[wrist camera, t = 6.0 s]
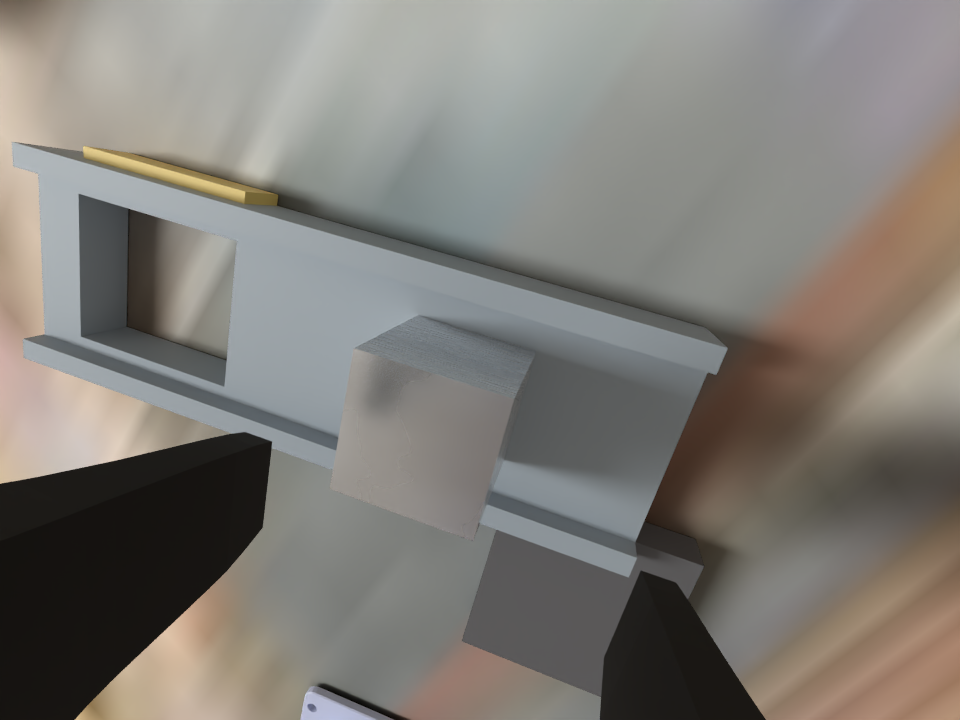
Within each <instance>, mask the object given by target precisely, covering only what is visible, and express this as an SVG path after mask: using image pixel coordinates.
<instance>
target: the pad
mask: <svg viewBox="0 0 960 720" xmlns="http://www.w3.org/2000/svg"><path fill="white" fill-rule="evenodd" d="M635 545H636V553H637V559H636V562H635V564H634V566H633V569H632V571H631V573H630V576H629V578H628V577H626V576H623V575H620V574H617V573H615V572H612V571H609V570H606V569H604V568H601V567H598V566H595V565H593V564H590V563H587V562H584V561H582V560H579V559H576V558H573V557H571V556H568V555H565V554H562V553H560V552H557V551H554V550H551V549H549V548H546V547H543V546H540V545H538V544H535V543H532V542H529V541H527V540H524V539H521V538H518V537H516V536H513V535H510V534H507V533H505V532H502V531H499V530H496V533H495V536H494V539H493V543H492V546H491V549H490V552H489V555H488V559H487V562H486V565H485V568H484V571H483V575H482V578H481V581H480V584H479V588H478V591H477V594H476V597H475V600H474V604H473V607H472V610H471V613H470V616H469V620H468V623H467V626H466V629H465V632H464V636H463V639H462V641H463V642H465V643H468V644H470V645H473V646H475V647H478V648H480V649H483V650H485V651H488V652H490V653H493V654H495V655H497V656H500V657H502V658H505V659H507V660H510V661H512V662H515V663H517V664H520V665H522V666H525V667H527V668H530V669H532V670H535V671H537V672H540V673H542V674H545V675H547V676H550V677H552V678H555V679H557V680H560V681H562V682H565V683H567V684H570V685H572V686H575V687H577V688H580V689H582V690H585V691H587V692H590V693H592V694H595V695H597V696H600V697H601V691H602V678H603V664H604V656H605V654H606V651H607V649H608V647H609V644H610V642H611V639H612V637H613V635H614V632H615V630H616V628H617V625H618V623H619V621H620V618H621V616H622V614H623V611H624V609H625V606H626V604H627V602H628V599H629V597H630V595H631V592H632V590H633V588H634V585H635V583H636V581H637V578H638V576H639V573H640V571H641V570H642V571H644V572H647V573H650V574H653V575H656V576H659V577H662V578H664V579H667V580H670V581H673V582H676V583H677V584H678V586H679V587H680V589H681V590H682V592H683V593H684V595H685V596H686V598H687V599H688V598H689V596H690V594H691V592H692V590H693V588H694V586H695V584H696V582H697V580H698V578H699V576H700V574H701V572H702V570H703V568H704V564H703V561H702V558H701V555H700V552H699V549H698V545H697V542H696V539H693V538H690V537H687V536H684V535H681V534H679V533H676V532H673V531H670V530H667V529H664V528H661V527H658V526H655V525H653V524H650V523H647V522H644V523H643V525H642V528H641V530H640V532H639V535H638V537H637V539H636V542H635Z"/></svg>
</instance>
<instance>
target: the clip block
mask: <svg viewBox="0 0 960 720" xmlns="http://www.w3.org/2000/svg"><path fill="white" fill-rule="evenodd" d="M535 354H536V351H535V350H532V349H529V348H525V347H522V346H519V345H515V344H512V343H509V342H506V341H502V340H499V339H496V338H492V337H489V336H486V335H482V334H479V333H476V332H472V331H469V330H466V329H462V328H459V327H456V326H452V325H449V324H446V323H442V322H439V321H436V320H432V319H429V318H426V317H423V316H419V315H417V316H415V317H413V318H411V319H409V320H408V321H406V322H404V323H402V324H400V325H398V326H396V327H394V328H392V329H390V330H388V331H386V332H384V333H382V334H380V335H378V336H376V337H374V338H373V339H371V340H369V341H367V342H365V343H363V344H361V345H359V346H357V347H355V348H354V349H353V355H352V360H351V366H350V372H349V378H348V384H347V390H346V396H345V402H344V408H343V414H342V420H341V425H340V431H339V437H338V443H337V449H336V455H335V461H334V467H333V473H332V479H331V485H330V489H331V490H334V491H337V492H340V493H342V494H345V495H348V496H351V497H353V498H356V499H359V500H362V501H364V502H367V503H370V504H373V505H375V506H378V507H381V508H383V509H386V510H389V511H392V512H394V513H397V514H400V515H403V516H405V517H408V518H411V519H414V520H416V521H419V522H422V523H424V524H427V525H430V526H433V527H435V528H438V529H441V530H444V531H446V532H449V533H452V534H455V535H457V536H460V537H463V538H466V539H468V540H471V541H473V540H474V537H475V534H476V532H477V529H478V527H479V524H480V521H481V519H482V516H483V514H484V511H485V508H486V506H487V503H488V501H489V498H490V495H491V493H492V490H493V488H494V485H495V482H496V480H497V477H498V475H499V472H500V469H501V467H502V464H503V462H504V459H505V455H506V452H507V448H508V445H509V442H510V438H511V435H512V432H513V428H514V425H515V421H516V418H517V415H518V411H519V408H520V405H521V401H522V398H523V394H524V391H525V388H526V384H527V381H528V378H529V374H530V371H531V367H532V364H533V361H534V357H535Z"/></svg>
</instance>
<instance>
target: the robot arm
mask: <svg viewBox="0 0 960 720" xmlns="http://www.w3.org/2000/svg"><path fill="white" fill-rule="evenodd" d="M271 448H272V441H270V440H267V439H264V438H261V437H258V436H255V435H252V434H250V433H247V432H241V433H234V434H229V435H223V436H219V437H214V438H210V439H205V440H201V441H197V442H192V443H188V444H184V445H180V446H176V447H172V448H167V449H163V450H159V451H155V452H151V453H146V454H142V455H138V456H134V457H130V458H125V459H121V460H117V461H112V462H108V463H103V464H98V465H93V466H89V467H84V468H79V469H74V470H69V471H65V472H60V473H55V474H50V475H46V476H41V477H36V478H30V479H25V480H20V481H14V482H8V483H2V484H0V720H75V719H76V717H77V716H78V715H79V714H80V713H81V712H82V711H83V710H84V709H85V707H86V706H87V705H88V704H89V703H90V702H91V701H92V700H93V699H94V698H95V697H96V696H97V695H98V694H99V693H100V692H101V691H102V690H103V689H104V688H105V687H106V686H107V685H108V684H109V683H110V682H111V681H112V680H113V679H114V678H115V677H116V676H117V675H118V674H119V673H120V672H121V671H122V670H123V669H124V668H125V667H127V666H128V665H129V664H130V663H131V662H132V661H133V660H134V659H135V658H136V657H137V656H138V655H139V654H140V653H141V652H142V651H143V650H145V649H146V648H147V647H148V646H149V645H150V644H151V643H152V642H153V641H154V640H155V639H156V638H157V637H158V636H159V635H160V634H161V633H163V632H164V631H165V630H166V629H167V628H168V627H169V626H170V625H171V624H172V623H173V622H174V621H175V620H176V619H177V618H178V617H180V616H181V615H182V614H183V613H184V612H185V611H186V610H187V609H188V608H189V607H190V606H191V605H192V604H193V603H194V602H195V601H196V600H197V599H198V598H200V597H201V596H202V595H203V594H204V593H205V592H206V591H207V590H208V589H209V588H210V587H211V586H212V585H213V584H214V583H215V582H216V581H217V580H218V579H219V578H220V577H221V576H222V575H223V574H224V573H225V572H226V571H227V570H228V569H229V568H230V567H231V565H232V564H233V563H234V562H235V561H236V560H237V558H238V557H239V556H240V555H241V554H242V553H243V551H244V550H245V549H246V548H247V546H248V545H249V544H250V543H251V541H252V540H253V539H254V538H255V536H256V535H257V534H258V533H259V531H260V530H261V529H262V528H263V519H264V510H265V501H266V492H267V484H268V475H269V466H270V457H271ZM301 720H394V719H392V718H389V717H387V716H385V715H382V714H380V713H378V712H375V711H373V710H371V709H369V708H366V707H364V706H362V705H359V704H357V703H355V702H352V701H350V700H348V699H346V698H343V697H341V696H339V695H336V694H334V693H332V692H329V691H327V690H325V689H322V688H320V687H317V686H312V687H310V688H309V690H308V691H307V693H306V695H305V698H304V704H303V709H302V715H301ZM600 720H766V719H765V718H764V716H763V715H762V714H761V712H760V711H759V709H758V708H757V706H756V705H755V703H754V702H753V700H752V699H751V697H750V696H749V694H748V693H747V691H746V690H745V688H744V687H743V685H742V684H741V682H740V681H739V679H738V678H737V676H736V675H735V673H734V672H733V670H732V668H731V667H730V665H729V664H728V662H727V661H726V659H725V658H724V656H723V655H722V653H721V651H720V650H719V648H718V647H717V645H716V644H715V642H714V640H713V639H712V637H711V636H710V634H709V633H708V631H707V629H706V628H705V626H704V625H703V623H702V621H701V620H700V618H699V617H698V615H697V613H696V612H695V610H694V609H693V607H692V606H691V604H690V602H689V601H688V599H687V598H686V596H685V595H684V593H683V592H682V590H681V589H680V587H679V586H678V584H677V583H676V582H673V581H670V580H667V579H664V578H662V577H659V576H656V575H653V574H650V573H647V572H644V571H642V570H641V571H640V573H639V576H638V578H637V581H636V583H635V585H634V588H633V590H632V592H631V595H630V597H629V599H628V602H627V604H626V606H625V609H624V611H623V614H622V616H621V618H620V621H619V623H618V625H617V628H616V630H615V632H614V635H613V637H612V639H611V642H610V644H609V647H608V649H607V651H606V654H605V656H604V664H603V678H602V691H601V710H600Z"/></svg>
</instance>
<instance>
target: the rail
mask: <svg viewBox="0 0 960 720" xmlns="http://www.w3.org/2000/svg"><path fill="white" fill-rule="evenodd" d="M12 153H13V166H14V167H17V168H21V169H24V170H27V171H31V172H34V173H37V174H38V179H39V204H40V228H41V253H42V278H43V302H44V327H45V335H40V336H35V337H30V338H25V339H23V350H24V358H26V359H28V360H31V361H34V362H37V363H39V364H42V365H45V366H48V367H50V368H53V369H56V370H59V371H61V372H64V373H67V374H70V375H72V376H75V377H78V378H81V379H83V380H86V381H89V382H92V383H94V384H97V385H100V386H103V387H105V388H108V389H111V390H114V391H116V392H119V393H122V394H125V395H127V396H130V397H133V398H136V399H138V400H141V401H144V402H147V403H149V404H152V405H155V406H158V407H160V408H163V409H166V410H169V411H171V412H174V413H177V414H180V415H182V416H185V417H188V418H191V419H193V420H196V421H199V422H202V423H204V424H207V425H210V426H213V427H215V428H218V429H221V430H224V431H226V432H229V433H232V434H234V433H241V432H247V433H250V434H252V435H255V436H258V437H261V438H264V439H267V440H270V441H272V448H273V449H276V450H279V451H282V452H284V453H287V454H290V455H293V456H295V457H298V458H301V459H304V460H306V461H309V462H312V463H315V464H317V465H320V466H323V467H326V468H328V469H331V470H333V467H334V461H335V455H336V449H337V443H338V437H339V431H340V425H341V420H342V414H343V408H344V402H345V396H346V390H347V384H348V378H349V372H350V366H351V360H352V355H353V349H354V348H355V347H357V346H359V345H361V344H363V343H365V342H367V341H369V340H371V339H373V338H374V337H376V336H378V335H380V334H382V333H384V332H386V331H388V330H390V329H392V328H394V327H396V326H398V325H400V324H402V323H404V322H406V321H408V320H409V319H411V318H413V317H415V316H417V315H419V316H423V317H426V318H429V319H432V320H436V321H439V322H442V323H446V324H449V325H452V326H456V327H459V328H462V329H466V330H469V331H472V332H476V333H479V334H482V335H486V336H489V337H492V338H496V339H499V340H502V341H506V342H509V343H512V344H515V345H519V346H522V347H525V348H529V349H532V350H535V351H536V354H535V357H534V361H533V364H532V367H531V371H530V374H529V378H528V381H527V384H526V388H525V391H524V394H523V398H522V401H521V405H520V408H519V411H518V415H517V418H516V421H515V425H514V428H513V432H512V435H511V438H510V442H509V445H508V448H507V452H506V455H505V459H504V462H503V464H502V467H501V469H500V472H499V475H498V477H497V480H496V482H495V485H494V488H493V490H492V493H491V495H490V498H489V501H488V503H487V506H486V508H485V511H484V514H483V516H482V519H481V521H480V524H483V525H485V526H488V527H491V528H494V529H496V530H499V531H502V532H505V533H507V534H510V535H513V536H516V537H518V538H521V539H524V540H527V541H529V542H532V543H535V544H538V545H540V546H543V547H546V548H549V549H551V550H554V551H557V552H560V553H562V554H565V555H568V556H571V557H573V558H576V559H579V560H582V561H584V562H587V563H590V564H593V565H595V566H598V567H601V568H604V569H606V570H609V571H612V572H615V573H617V574H620V575H623V576H626V577H628V578H629V576H630V573H631V571H632V569H633V566H634V564H635V562H636V559H637V553H636V545H635V542H636V539H637V537H638V535H639V532H640V530H641V528H642V525H643V523H644V521H645V518H646V516H647V514H648V511H649V509H650V506H651V504H652V502H653V499H654V497H655V495H656V492H657V490H658V488H659V485H660V483H661V481H662V478H663V476H664V474H665V471H666V469H667V467H668V464H669V462H670V460H671V457H672V455H673V453H674V450H675V448H676V445H677V443H678V441H679V438H680V436H681V434H682V431H683V429H684V427H685V424H686V422H687V420H688V417H689V415H690V413H691V410H692V408H693V406H694V403H695V401H696V399H697V396H698V394H699V391H700V389H701V387H702V384H703V382H704V380H705V377H706V375H707V373H711V374H715V375H717V372H718V370H719V368H720V365H721V363H722V361H723V358H724V356H725V354H726V352H727V349H728V348H727V347H726V346H725V345H724V344H723V343H722V342H721V341H720V340H719V339H718V338H716V337H715V336H714V335H713V334H712V333H711V332H710V331H709V330H708V329H707V328H705V327H702V326H698V325H695V324H691V323H688V322H684V321H681V320H677V319H674V318H670V317H667V316H663V315H660V314H656V313H653V312H649V311H645V310H642V309H638V308H635V307H631V306H628V305H624V304H621V303H617V302H614V301H610V300H607V299H603V298H600V297H596V296H593V295H589V294H586V293H582V292H579V291H575V290H572V289H568V288H565V287H561V286H558V285H554V284H550V283H547V282H543V281H540V280H536V279H533V278H529V277H526V276H522V275H519V274H515V273H512V272H508V271H505V270H501V269H498V268H494V267H491V266H487V265H484V264H480V263H477V262H473V261H470V260H466V259H463V258H459V257H455V256H452V255H448V254H445V253H441V252H438V251H434V250H431V249H427V248H424V247H420V246H417V245H413V244H410V243H406V242H403V241H399V240H396V239H392V238H389V237H385V236H382V235H378V234H375V233H371V232H368V231H364V230H360V229H357V228H353V227H350V226H346V225H343V224H339V223H336V222H332V221H329V220H325V219H322V218H318V217H315V216H311V215H308V214H304V213H301V212H297V211H294V210H290V209H287V208H283V207H280V206H277V202H278V195H277V194H274V193H270V192H267V191H263V190H260V189H256V188H252V187H249V186H245V185H242V184H238V183H235V182H231V181H227V180H224V179H220V178H217V177H213V176H210V175H206V174H203V173H199V172H195V171H192V170H188V169H185V168H181V167H178V166H174V165H170V164H167V163H163V162H160V161H156V160H153V159H149V158H145V157H142V156H138V155H135V154H131V153H126V152H120V151H113V150H107V149H100V148H94V147H87V146H83V152H80V151H73V150H66V149H59V148H52V147H45V146H38V145H31V144H24V143H17V142H12ZM128 209H132V210H135V211H138V212H142V213H145V214H148V215H152V216H155V217H158V218H162V219H165V220H168V221H172V222H175V223H178V224H182V225H185V226H188V227H192V228H195V229H198V230H202V231H205V232H208V233H212V234H215V235H218V236H222V237H225V238H228V239H232V240H235V241H237V246H236V258H235V269H234V281H233V293H232V304H231V316H230V328H229V339H228V351H227V361H226V360H223V359H220V358H217V357H214V356H211V355H209V354H206V353H203V352H200V351H197V350H194V349H191V348H188V347H185V346H182V345H179V344H176V343H173V342H170V341H167V340H164V339H161V338H159V337H156V336H153V335H150V334H147V333H144V332H141V331H138V330H135V329H132V328H129V327H127V266H128Z"/></svg>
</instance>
